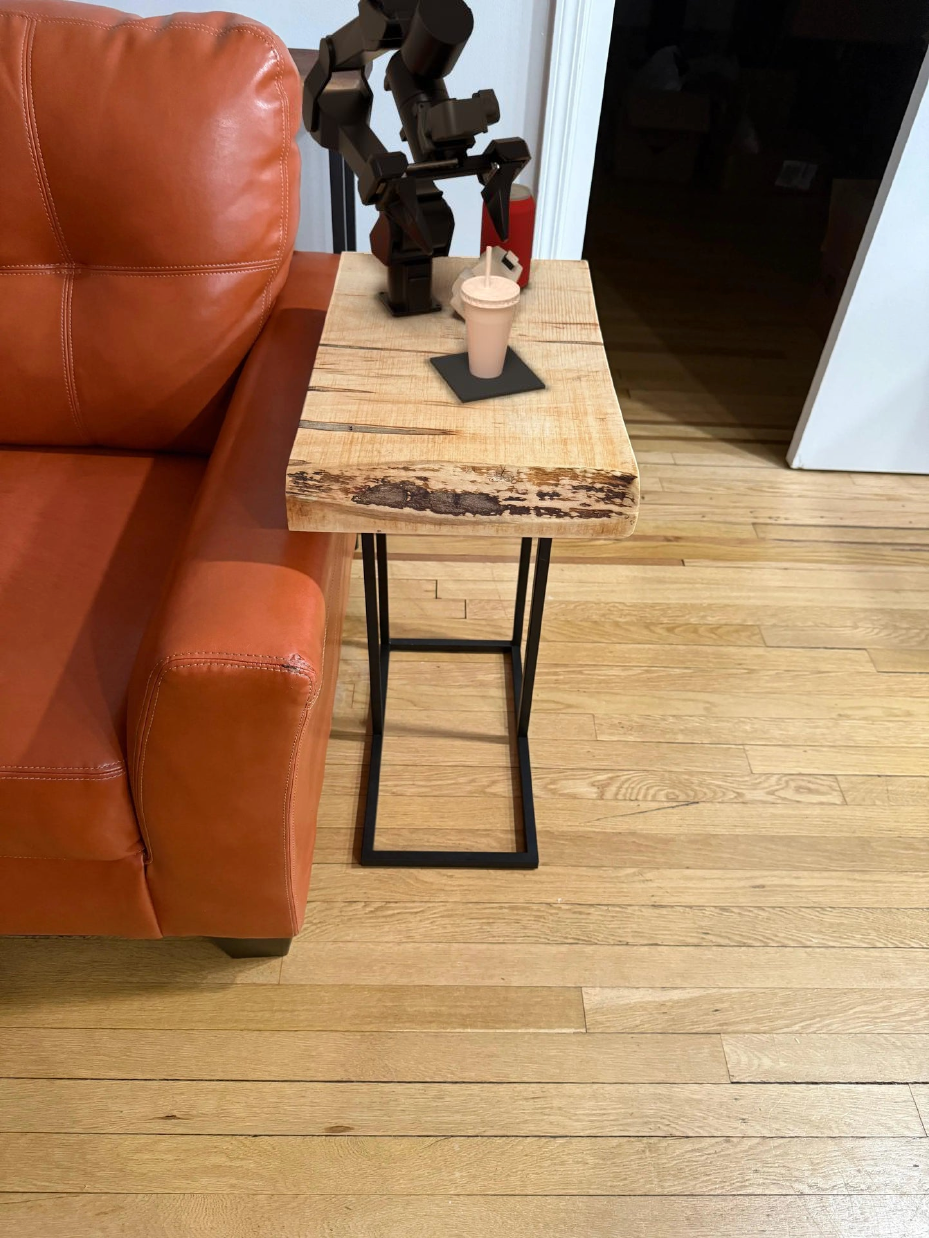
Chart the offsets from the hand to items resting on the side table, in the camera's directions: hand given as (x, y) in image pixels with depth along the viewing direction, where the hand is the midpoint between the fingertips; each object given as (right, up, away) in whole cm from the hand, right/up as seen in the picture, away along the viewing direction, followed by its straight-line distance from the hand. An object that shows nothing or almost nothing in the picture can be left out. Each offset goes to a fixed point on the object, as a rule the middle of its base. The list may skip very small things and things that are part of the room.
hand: (468, 246), depth 99 cm
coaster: (+2, -12, +5) cm, 14 cm away
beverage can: (+5, +4, +24) cm, 24 cm away
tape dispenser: (+2, -3, +16) cm, 16 cm away
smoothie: (+2, -12, +5) cm, 13 cm away
